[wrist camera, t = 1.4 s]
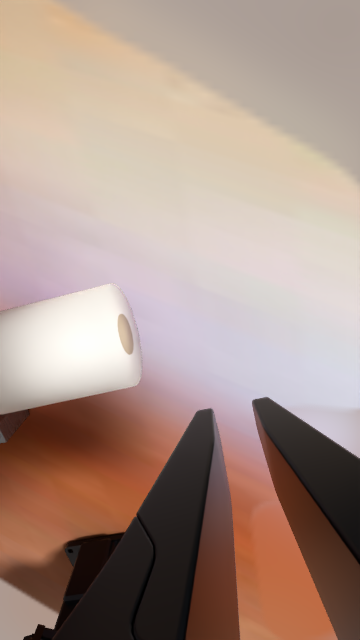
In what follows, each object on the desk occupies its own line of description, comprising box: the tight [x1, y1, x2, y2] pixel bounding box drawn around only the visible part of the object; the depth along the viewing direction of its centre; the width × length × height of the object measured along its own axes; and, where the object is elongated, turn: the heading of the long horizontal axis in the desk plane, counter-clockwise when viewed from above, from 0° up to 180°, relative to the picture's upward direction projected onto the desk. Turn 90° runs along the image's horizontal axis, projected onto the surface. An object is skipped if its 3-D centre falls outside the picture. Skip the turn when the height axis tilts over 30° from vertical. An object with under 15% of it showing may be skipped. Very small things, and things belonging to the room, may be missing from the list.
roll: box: [0, 283, 142, 414], centre depth 17 cm, size 8×6×6 cm
